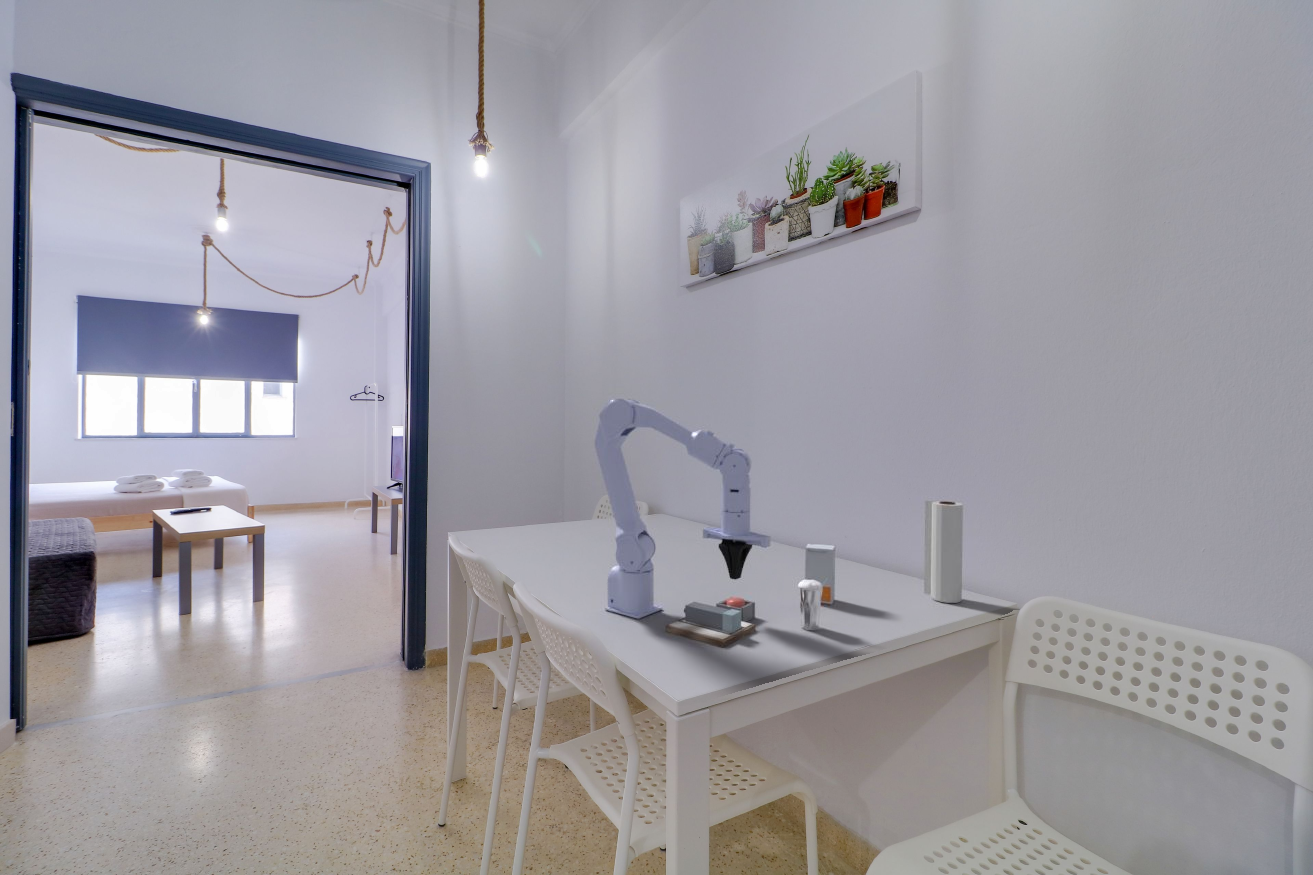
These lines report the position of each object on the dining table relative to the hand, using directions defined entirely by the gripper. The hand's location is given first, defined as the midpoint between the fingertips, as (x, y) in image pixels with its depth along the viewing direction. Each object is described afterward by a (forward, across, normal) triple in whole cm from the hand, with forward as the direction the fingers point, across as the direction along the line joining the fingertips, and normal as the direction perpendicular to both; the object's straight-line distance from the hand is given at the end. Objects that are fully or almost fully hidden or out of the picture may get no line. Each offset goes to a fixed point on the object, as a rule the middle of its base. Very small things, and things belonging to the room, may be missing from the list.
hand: (735, 577), depth 120 cm
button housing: (+8, 0, 0) cm, 8 cm away
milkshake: (+8, +15, +4) cm, 17 cm away
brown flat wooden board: (+8, 0, -9) cm, 12 cm away
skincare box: (+8, +9, +21) cm, 24 cm away
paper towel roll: (+8, +30, +39) cm, 50 cm away
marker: (+7, 0, -9) cm, 11 cm away
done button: (+8, 0, 0) cm, 8 cm away
